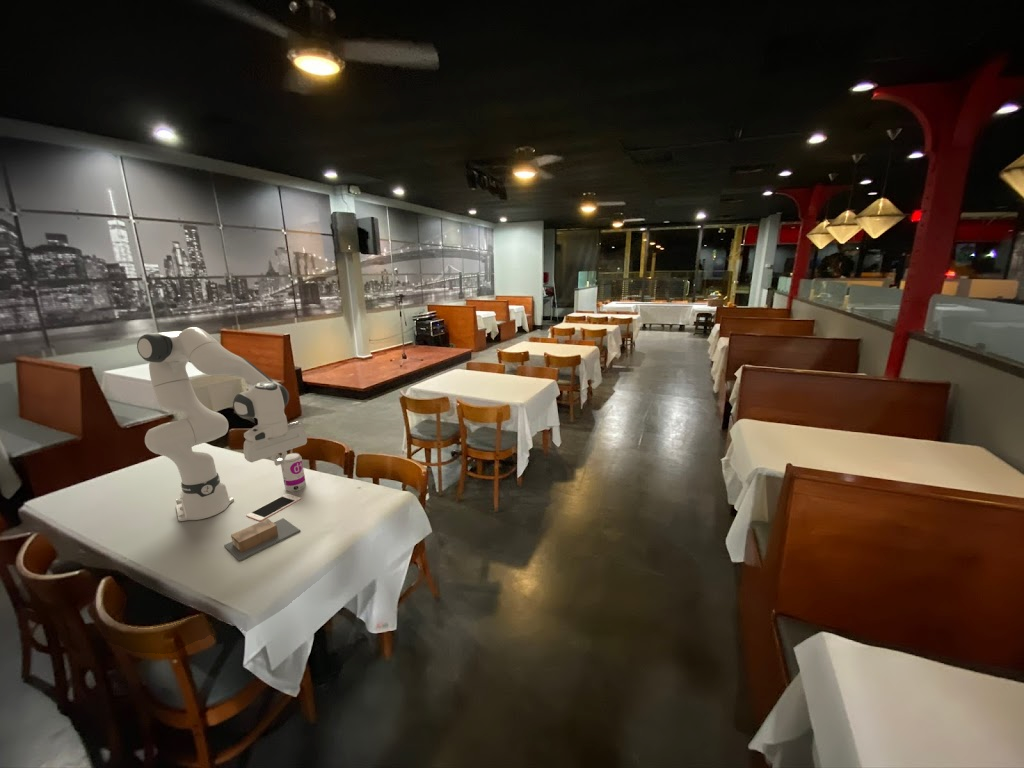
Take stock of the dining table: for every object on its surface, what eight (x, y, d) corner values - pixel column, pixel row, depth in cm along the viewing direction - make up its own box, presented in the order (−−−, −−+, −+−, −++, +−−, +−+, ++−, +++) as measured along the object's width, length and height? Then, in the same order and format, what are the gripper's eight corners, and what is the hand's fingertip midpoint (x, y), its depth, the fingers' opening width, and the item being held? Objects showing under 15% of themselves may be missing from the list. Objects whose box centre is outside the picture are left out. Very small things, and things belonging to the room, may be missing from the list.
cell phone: (301, 499, 173) (301, 497, 173) (260, 522, 157) (260, 520, 157) (287, 495, 177) (287, 493, 177) (245, 517, 161) (245, 514, 161)
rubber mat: (224, 546, 143) (224, 545, 143) (283, 519, 158) (283, 518, 158) (239, 561, 136) (239, 559, 135) (300, 531, 151) (300, 530, 151)
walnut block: (269, 528, 152) (232, 545, 143) (267, 518, 151) (230, 535, 142) (278, 534, 148) (240, 553, 139) (276, 525, 147) (238, 542, 138)
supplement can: (309, 485, 184) (305, 454, 180) (292, 494, 177) (286, 462, 173) (299, 481, 188) (294, 451, 184) (281, 489, 181) (275, 457, 177)
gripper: (298, 418, 155) (304, 451, 158) (238, 435, 139) (245, 472, 142) (307, 421, 151) (312, 455, 155) (246, 439, 135) (253, 477, 139)
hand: (280, 464), depth 148 cm, fingers closed
